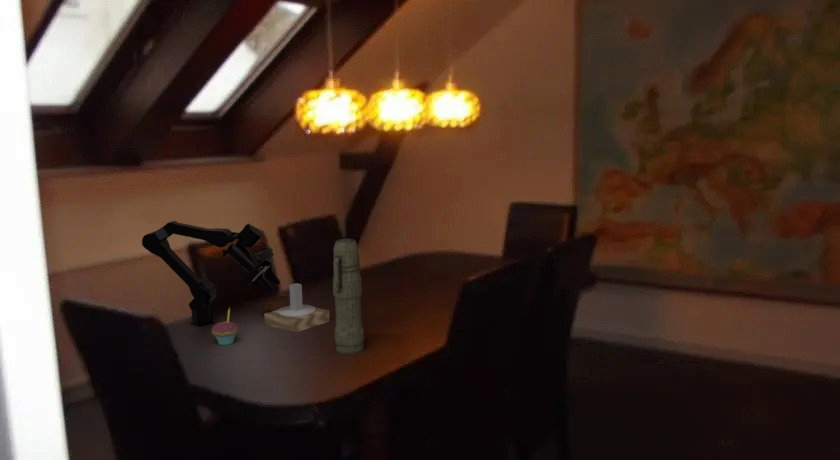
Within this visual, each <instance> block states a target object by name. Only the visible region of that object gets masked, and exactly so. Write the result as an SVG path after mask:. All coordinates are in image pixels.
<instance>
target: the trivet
mask: <svg viewBox="0 0 840 460" xmlns="http://www.w3.org/2000/svg"><path fill="white" fill-rule="evenodd" d="M263 315H264V326H269V327H273V328H276V329H279V330H283V331H287V332H291V333H292V332H293V333H298V332H301V331H304V330H308V329H310V328H314V327H317V326H320V325H323V324H326V323H329V322H330V310H328V309H325V308H324V309H323V308H318V307H315V313H313V314H311V315H308V316H303V317H283V316H280V315H279V314H278V310H276V311H272V312H269V313H265V314H263Z"/></svg>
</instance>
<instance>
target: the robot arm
mask: <svg viewBox="0 0 840 460" xmlns="http://www.w3.org/2000/svg"><path fill="white" fill-rule="evenodd" d="M172 235H178V236H183V237H186V238H192V239H197V240H202V241H205V242H207V244H208V243H209V245H212V246H215V247H216V248H222V258H226V257H228V256H230V257H231V258H232V259H233V260H235V262H236V263H237V264H238V267H239V268H243V269H244V270H245V271H246V272H247V274H246V275H244V277H243V280H244V283H246V284H247V285H248V286H249V285H250V286H253V287H256V288H260V289H263V290H266V291H269V292H273V291H275V288H274V287H273V286H272V284H271V283H273V284H275V285H277V286H279V285H281V281H280V279H279V277H278V276H277V275H276V273H275V272H274V261H273V260H272V259H271V258H272V257H274V256H275V254H274V252H273V251H274V249H272V248H271V247H269V246H268V245H266V246H264V247H262V248H261V251H260V252H255V251H250V250H249V249H248V248H250V249H251V248H253V247H255V245H256V244H257V243H259V241H260V240H261V238H263V232H262V231H261V230H260V229H259V228H257V226H256V227H255V226H254V225H252V224H250V223H246V224H245V225H244V227H243V228H242V229H241V231H240V232H236V231H232V230H231V229H230V228H222V227H221V228H220V227H217V228H215V227H213V228H208V227H207V228H206V227H202V226H198V225H193V224H187V223H184V222H183V223H182V222H178V221H176V220H172V221H169V222H167V223H166V224H164V225H163V226H162V227H160V228H159V229H157V230H155V231H152V232H149V233H147V234H145V235H144V236H143V237H142V240H141V245H142V247H143V248H144V249H146V250H147V251H148V252H149V253H151V254H152V255H154V256H156V257H159V258H161V259H162V261H163V262H164V263H165V264H166V265H167V266H168V267H169V268H170V269H171V270H172V271H173V272H174V273H175V274H176V275H177V276H178V278H180V279H181V280H182V282H183V283H185V285H187V287H188V289H189V291H190V295H192V297H193V299H192V300H191V301H190V302H189V303H188V307H189V309H190V310H191V311H190V312H191V321H189V324H190V325H193V326H196V327H197V326H198V327H203V326H207V325H210V324H214V323H215V322H216V321H215V320H214V313H213V308H212V305H211V304H212V303H213V300H214V299H215V298H217V288H216V287H215V286H216V285H215V284H213V282H211V280H210V279H209V278H208V277H206V278H204V279H203V278H201V277H199V276H198V275H197V274H196V273H195V272H194V270H192V269H191V268H190V267H189V266H188V265H187V263H185V261H183V260H182V258H180V257H179V255H178V254H176V252H175V251H174V250H173V249H172V248H171V247H172V246H171V245H170V242H169V241H168V238H170V237H171V236H172ZM235 241H236V242H235ZM234 242H235V243H234ZM228 245H229V246H228ZM226 246H227V248H224V247H226ZM223 248H224V249H223ZM270 282H271V283H270Z"/></svg>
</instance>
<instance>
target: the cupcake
mask: <svg viewBox="0 0 840 460" xmlns="http://www.w3.org/2000/svg"><path fill="white" fill-rule="evenodd" d="M230 313H231V307H229V308H228V309H227V317H226V318H227V320H225V321H219V322H216V323H215V324H214V325H213V326H212V327H211V335H213V336H214V337H215V338H216V341H217V342H218V343H217V344H218V345H220V346H228V345H232V344H233V343H234V341H235V337H236V334H237V333H238V332H239V328H240V327H239V325H238V324H237V323H235V322H233V321H230V316H231V314H230Z"/></svg>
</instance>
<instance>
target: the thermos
mask: <svg viewBox="0 0 840 460" xmlns="http://www.w3.org/2000/svg"><path fill="white" fill-rule="evenodd" d="M332 265H333V270H332V271H333V277H332V290H333V291H332V294H333V298H334V303H335V305H334V306H335V307H334V308H335V328H334V343H335V351H336V353H338V354H340V355H341V354H342V355H353V354H359V353H361V352H363V351H364V349H365V348H364V342H365V339H364V338H365V335H364V327H363V324H362V301H361V299H362V295H363V288H362V287H363V285H362V281H363V280H362V276H361V269H360V268H361V266H360V254H359V247H358V244H357V242H356V240H355V239H353V238H339V239H338V240H336V241H335V242H334V246H333V262H332Z"/></svg>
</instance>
